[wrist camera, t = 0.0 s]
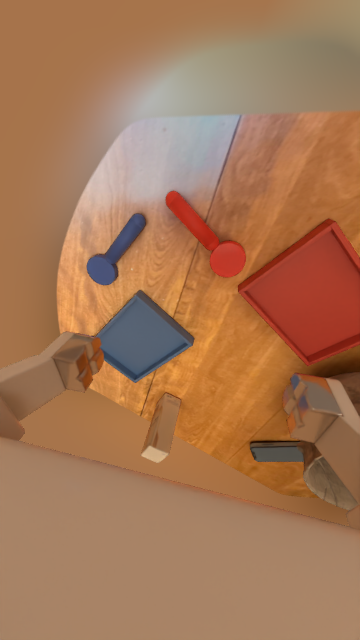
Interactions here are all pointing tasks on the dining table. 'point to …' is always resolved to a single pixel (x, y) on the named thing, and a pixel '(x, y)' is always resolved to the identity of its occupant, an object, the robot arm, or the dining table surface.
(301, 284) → the red tray
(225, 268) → the red spoon
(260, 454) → the smartphone
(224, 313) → the dining table surface
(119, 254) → the blue spoon
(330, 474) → the bowl
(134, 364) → the blue tray
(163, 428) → the cosmetic box
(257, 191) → the dining table surface
